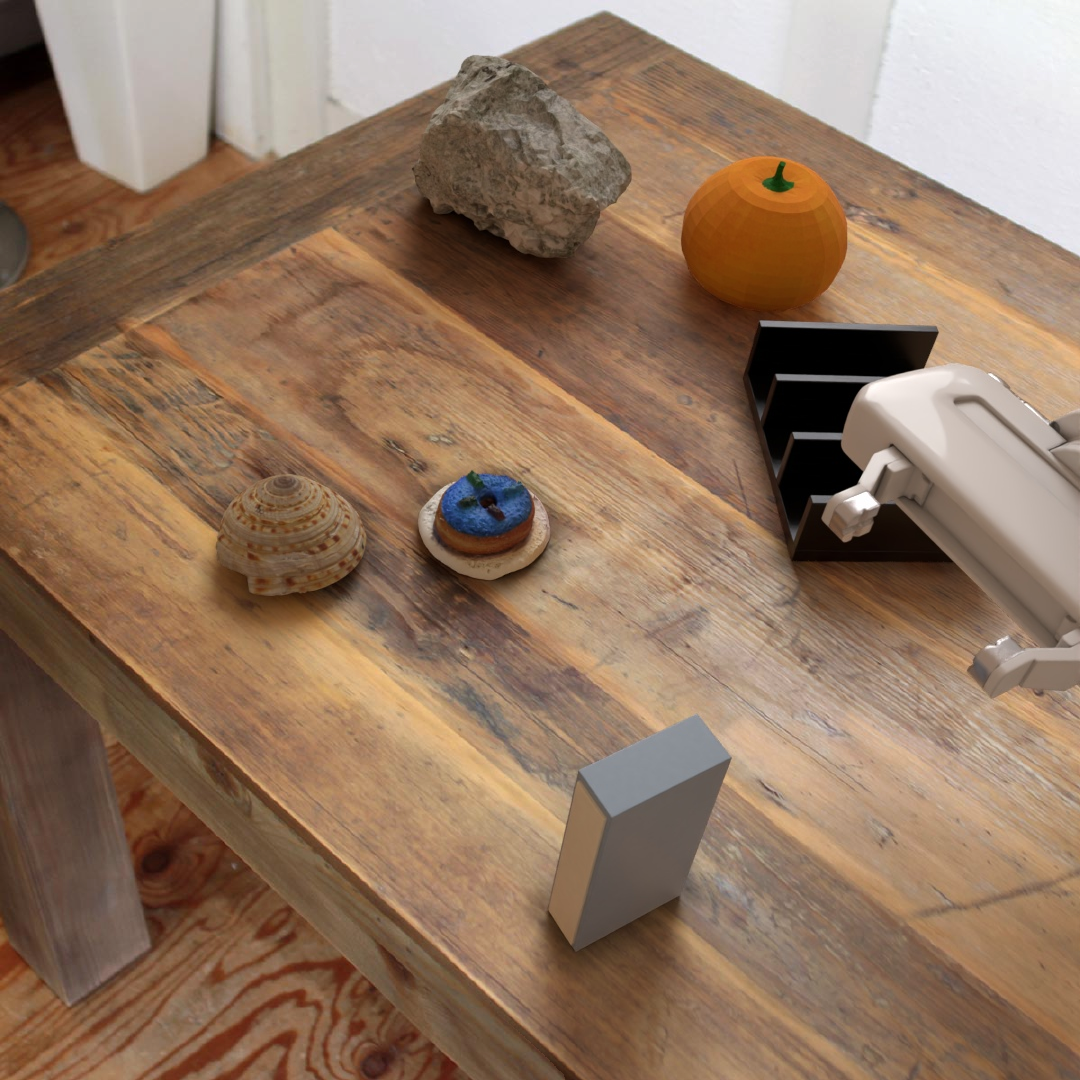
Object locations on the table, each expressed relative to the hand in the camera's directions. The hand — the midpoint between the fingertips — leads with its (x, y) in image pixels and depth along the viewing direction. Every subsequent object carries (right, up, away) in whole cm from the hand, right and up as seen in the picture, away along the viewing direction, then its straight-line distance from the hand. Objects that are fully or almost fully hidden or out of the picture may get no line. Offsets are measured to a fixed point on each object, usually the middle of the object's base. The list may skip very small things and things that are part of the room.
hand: (905, 595), depth 56 cm
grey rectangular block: (-12, -15, +7) cm, 20 cm away
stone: (-17, +26, +43) cm, 53 cm away
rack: (+5, +7, +29) cm, 30 cm away
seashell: (-29, +2, +19) cm, 35 cm away
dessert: (-19, +3, +22) cm, 29 cm away
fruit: (0, +21, +41) cm, 46 cm away
